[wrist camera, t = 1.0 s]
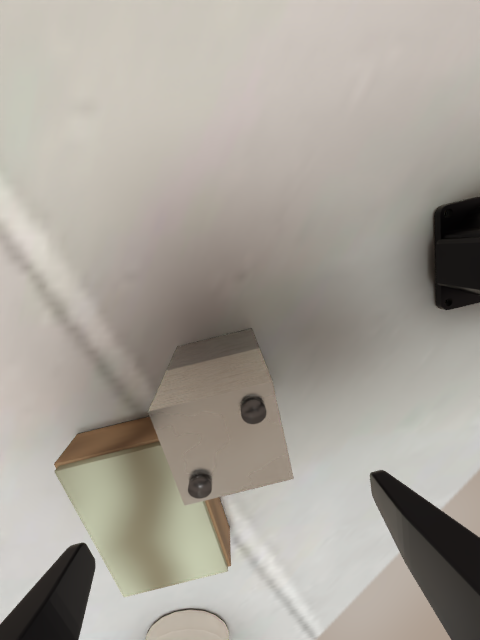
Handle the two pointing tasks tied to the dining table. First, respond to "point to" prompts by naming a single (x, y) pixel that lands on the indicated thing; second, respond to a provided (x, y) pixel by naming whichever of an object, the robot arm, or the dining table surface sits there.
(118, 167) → the dining table surface
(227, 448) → the block
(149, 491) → the riser
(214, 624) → the bottle
